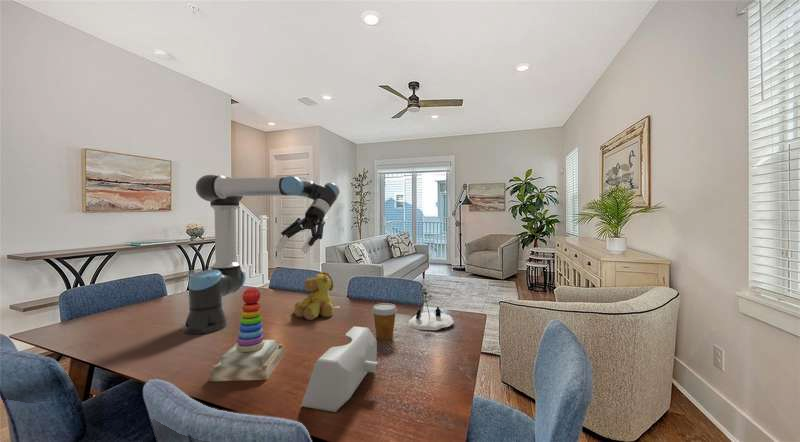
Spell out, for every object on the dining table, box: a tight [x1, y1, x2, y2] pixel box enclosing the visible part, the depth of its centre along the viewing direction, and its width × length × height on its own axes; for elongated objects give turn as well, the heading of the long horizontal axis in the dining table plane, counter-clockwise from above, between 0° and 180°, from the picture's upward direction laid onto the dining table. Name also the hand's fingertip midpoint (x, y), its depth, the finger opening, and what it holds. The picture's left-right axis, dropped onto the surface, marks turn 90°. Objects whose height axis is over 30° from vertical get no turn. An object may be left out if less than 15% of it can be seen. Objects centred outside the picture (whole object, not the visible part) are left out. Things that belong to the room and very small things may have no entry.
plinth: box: [209, 339, 286, 382], centre depth 97 cm, size 16×16×6 cm
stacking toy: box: [236, 287, 265, 352], centre depth 97 cm, size 8×8×19 cm
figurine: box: [408, 287, 454, 331], centre depth 135 cm, size 20×18×16 cm
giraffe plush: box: [293, 271, 341, 321], centre depth 151 cm, size 20×24×19 cm
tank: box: [300, 326, 380, 413], centre depth 87 cm, size 25×16×12 cm, turn 166°
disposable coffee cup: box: [371, 302, 398, 341], centre depth 120 cm, size 10×10×12 cm
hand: (290, 250), depth 120 cm, fingers open, 13 cm apart
